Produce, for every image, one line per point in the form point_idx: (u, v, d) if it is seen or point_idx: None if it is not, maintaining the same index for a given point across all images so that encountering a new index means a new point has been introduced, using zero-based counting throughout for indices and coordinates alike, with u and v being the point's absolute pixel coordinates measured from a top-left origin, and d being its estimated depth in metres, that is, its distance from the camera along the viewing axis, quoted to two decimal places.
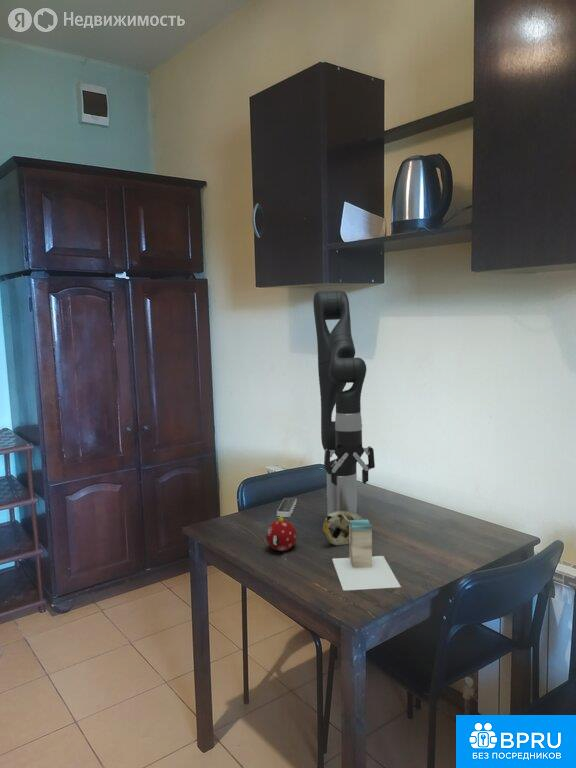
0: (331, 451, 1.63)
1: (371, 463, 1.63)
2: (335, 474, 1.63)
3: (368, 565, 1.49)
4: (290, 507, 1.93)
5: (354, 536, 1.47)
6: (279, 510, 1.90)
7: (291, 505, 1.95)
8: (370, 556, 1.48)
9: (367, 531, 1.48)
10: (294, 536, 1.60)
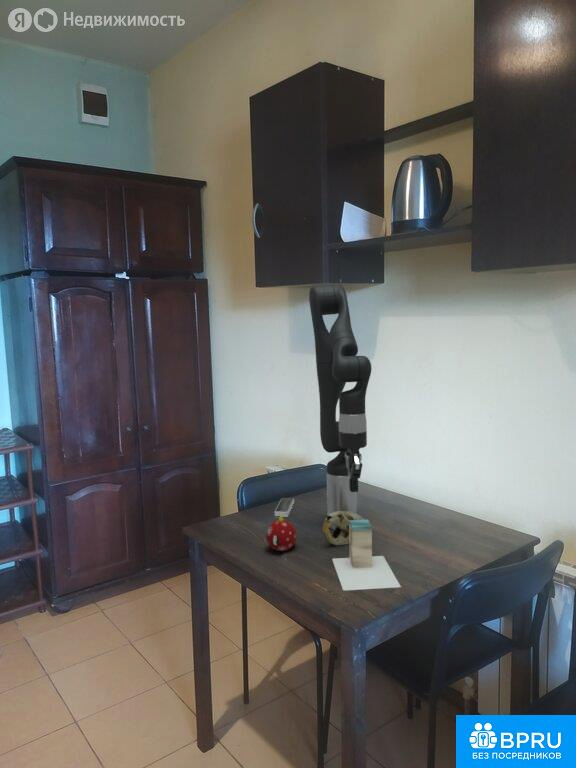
0: None
1: None
2: None
3: (368, 565, 1.49)
4: (288, 507, 1.93)
5: (354, 536, 1.47)
6: (277, 510, 1.90)
7: (289, 505, 1.95)
8: (370, 556, 1.48)
9: (367, 531, 1.48)
10: (294, 536, 1.60)
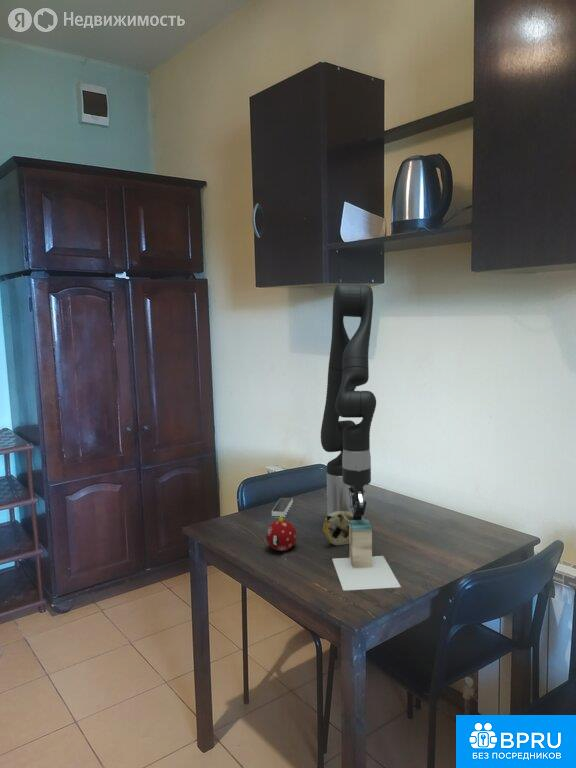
0: None
1: None
2: None
3: (368, 565, 1.49)
4: (285, 507, 1.93)
5: (354, 536, 1.47)
6: (274, 510, 1.90)
7: (286, 505, 1.95)
8: (370, 556, 1.48)
9: (367, 531, 1.47)
10: (294, 536, 1.60)
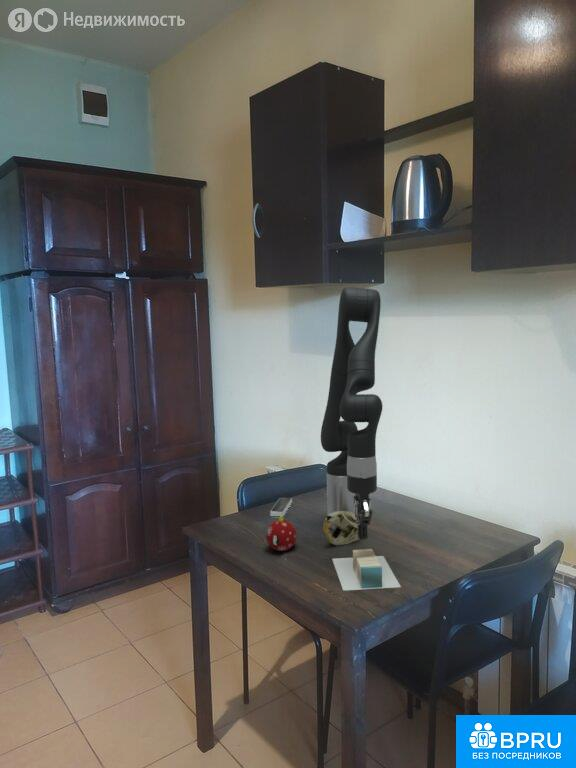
0: None
1: None
2: None
3: None
4: (284, 507, 1.93)
5: None
6: (272, 510, 1.90)
7: (285, 505, 1.95)
8: None
9: None
10: (294, 536, 1.60)
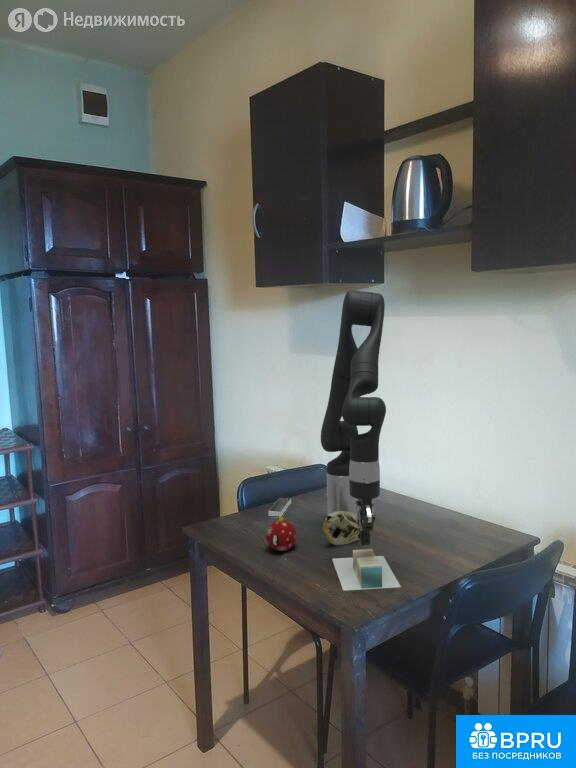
0: None
1: None
2: None
3: None
4: (282, 507, 1.93)
5: None
6: (271, 510, 1.90)
7: (284, 505, 1.95)
8: None
9: None
10: (294, 536, 1.60)
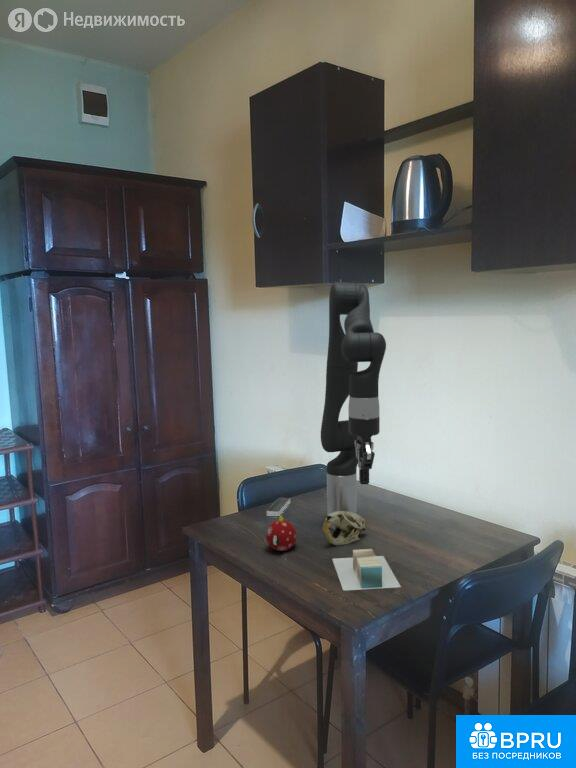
0: None
1: None
2: None
3: None
4: (281, 507, 1.93)
5: None
6: (269, 510, 1.91)
7: (282, 505, 1.95)
8: None
9: None
10: (294, 536, 1.60)
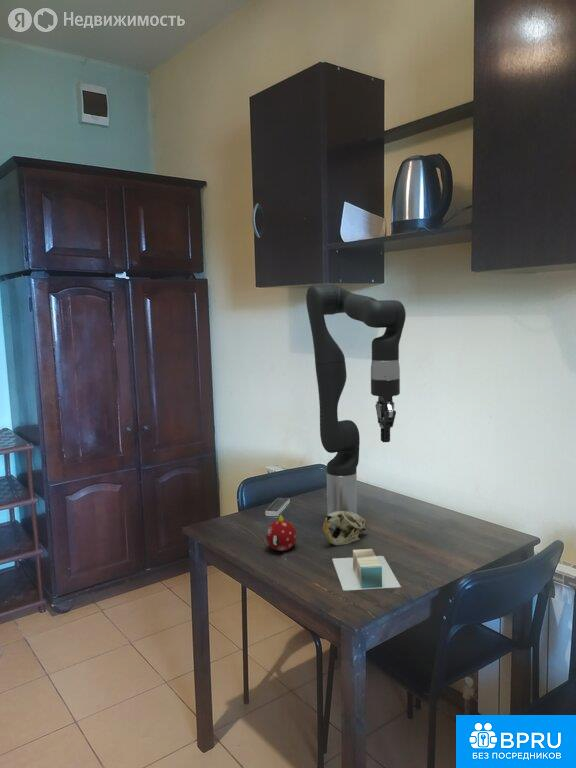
0: None
1: None
2: None
3: None
4: (280, 507, 1.93)
5: None
6: (268, 509, 1.91)
7: (281, 505, 1.95)
8: None
9: None
10: (294, 536, 1.60)
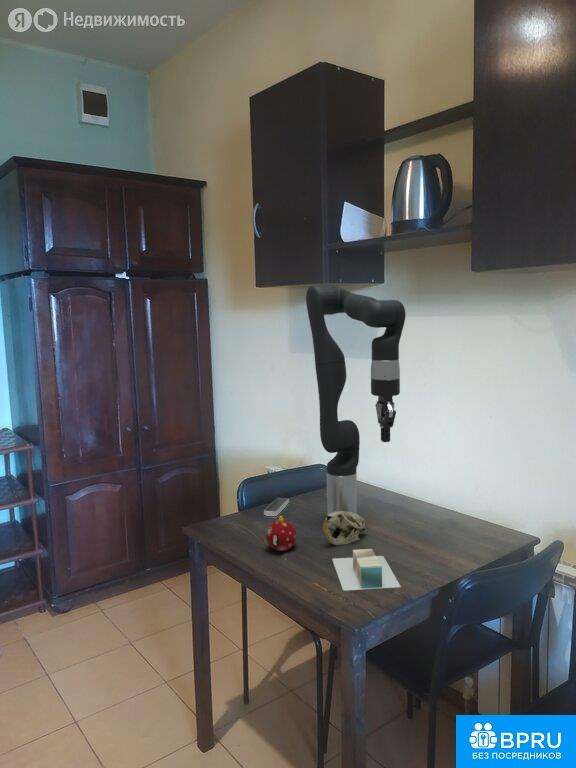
0: None
1: None
2: None
3: None
4: (278, 507, 1.93)
5: None
6: (266, 509, 1.91)
7: (280, 505, 1.95)
8: None
9: None
10: (294, 536, 1.60)
